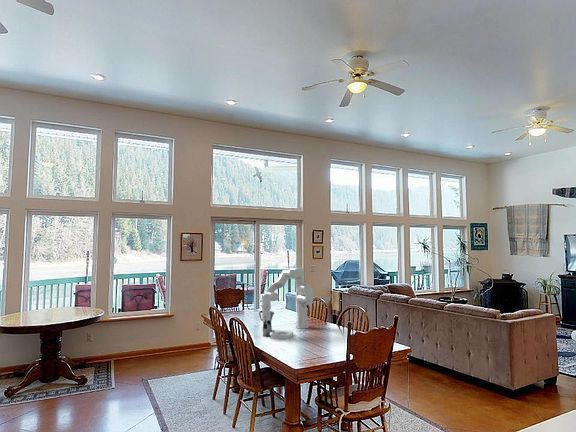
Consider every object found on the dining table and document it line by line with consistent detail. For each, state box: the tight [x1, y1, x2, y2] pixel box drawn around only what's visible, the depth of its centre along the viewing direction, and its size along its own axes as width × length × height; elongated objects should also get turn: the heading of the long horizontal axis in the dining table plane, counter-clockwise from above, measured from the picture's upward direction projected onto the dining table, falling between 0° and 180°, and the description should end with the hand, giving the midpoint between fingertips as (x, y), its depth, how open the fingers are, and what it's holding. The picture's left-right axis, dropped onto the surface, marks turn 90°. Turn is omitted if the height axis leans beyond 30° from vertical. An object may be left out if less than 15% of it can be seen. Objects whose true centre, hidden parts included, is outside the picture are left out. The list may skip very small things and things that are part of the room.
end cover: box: [262, 323, 271, 338], centre depth 335 cm, size 6×6×11 cm
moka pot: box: [258, 310, 275, 332], centre depth 356 cm, size 10×15×20 cm, turn 78°
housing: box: [270, 329, 294, 340], centre depth 333 cm, size 16×16×3 cm
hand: (266, 327), depth 335 cm, fingers open, 9 cm apart
